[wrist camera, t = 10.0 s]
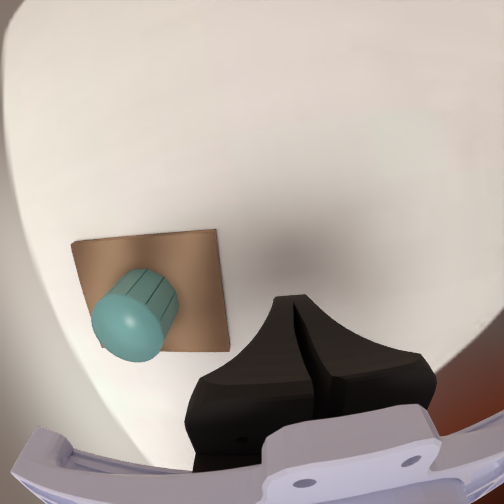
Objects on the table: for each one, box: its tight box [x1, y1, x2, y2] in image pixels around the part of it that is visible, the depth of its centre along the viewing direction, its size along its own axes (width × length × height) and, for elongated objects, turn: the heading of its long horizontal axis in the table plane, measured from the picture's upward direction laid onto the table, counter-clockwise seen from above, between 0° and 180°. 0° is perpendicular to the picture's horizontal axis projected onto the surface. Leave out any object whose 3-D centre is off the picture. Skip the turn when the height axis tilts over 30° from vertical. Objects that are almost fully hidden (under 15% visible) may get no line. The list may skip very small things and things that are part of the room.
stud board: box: [71, 229, 230, 352], centre depth 21 cm, size 12×10×4 cm
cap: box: [91, 269, 179, 362], centre depth 20 cm, size 5×5×4 cm
